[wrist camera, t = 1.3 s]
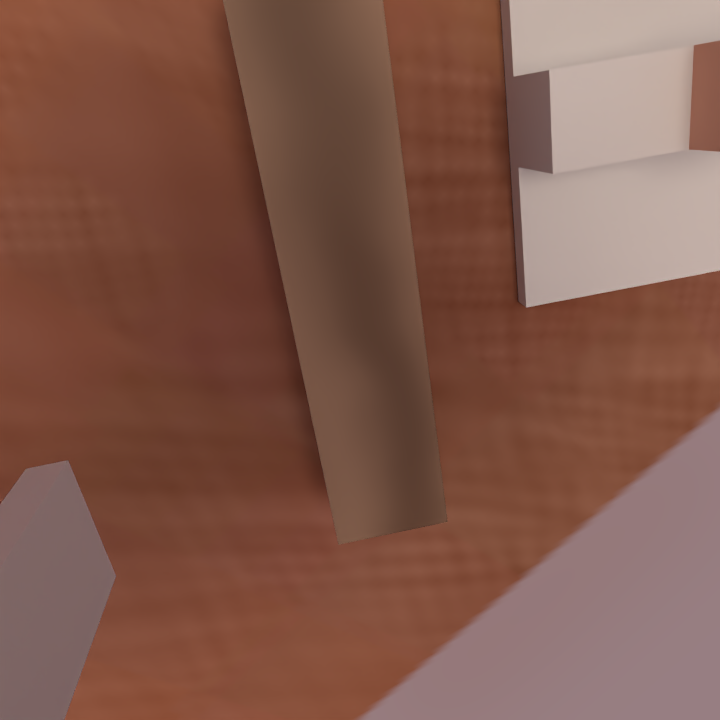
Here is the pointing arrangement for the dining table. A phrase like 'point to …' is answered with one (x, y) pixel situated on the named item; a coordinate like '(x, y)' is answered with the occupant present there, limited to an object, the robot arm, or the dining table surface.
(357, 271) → the beam
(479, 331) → the dining table surface
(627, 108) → the stand
